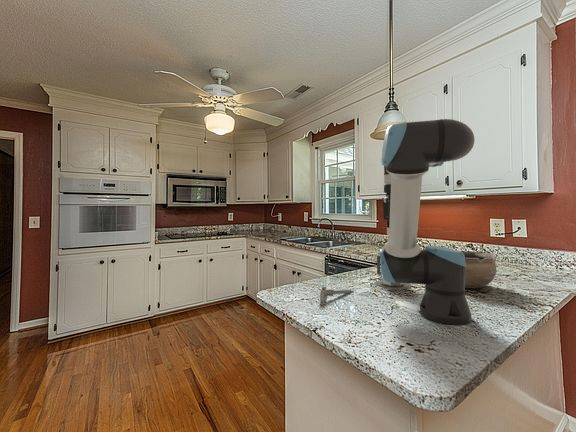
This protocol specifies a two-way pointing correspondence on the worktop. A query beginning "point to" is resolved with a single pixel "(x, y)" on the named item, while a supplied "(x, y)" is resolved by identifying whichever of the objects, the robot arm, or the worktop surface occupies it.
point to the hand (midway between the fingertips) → (392, 234)
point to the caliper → (331, 293)
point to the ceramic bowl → (479, 269)
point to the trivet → (393, 287)
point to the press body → (385, 283)
